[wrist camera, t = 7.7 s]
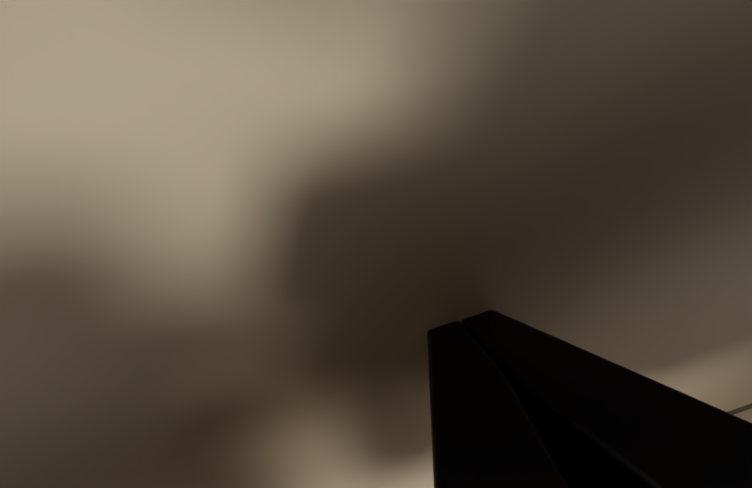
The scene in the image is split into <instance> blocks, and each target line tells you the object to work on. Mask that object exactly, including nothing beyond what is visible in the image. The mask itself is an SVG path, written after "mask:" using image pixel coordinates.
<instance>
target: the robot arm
mask: <svg viewBox="0 0 752 488" xmlns="http://www.w3.org/2000/svg"><path fill="white" fill-rule="evenodd" d="M427 347H428V369H429V391H430V413H431V435H432V457H433V480H434V488H752V423H751V422H748V421H746V420H744V419H741V418H739V417H737V416H735V415H732V414H730V413H728V412H726V411H723V410H721V409H719V408H716V407H714V406H712V405H710V404H707V403H705V402H703V401H700V400H698V399H696V398H694V397H691V396H689V395H687V394H684V393H682V392H680V391H678V390H675V389H673V388H671V387H668V386H666V385H664V384H662V383H659V382H657V381H655V380H652V379H650V378H648V377H646V376H643V375H641V374H639V373H637V372H634V371H632V370H630V369H627V368H625V367H623V366H621V365H618V364H616V363H614V362H611V361H609V360H607V359H605V358H602V357H600V356H598V355H595V354H593V353H591V352H589V351H586V350H584V349H582V348H579V347H577V346H575V345H573V344H570V343H568V342H566V341H563V340H561V339H559V338H557V337H554V336H552V335H550V334H548V333H545V332H543V331H541V330H538V329H536V328H534V327H532V326H529V325H527V324H525V323H522V322H520V321H518V320H516V319H513V318H511V317H509V316H506V315H504V314H502V313H500V312H497V311H495V310H489V311H485V312H482V313H479V314H476V315H473V316H470V317H467V318H465V319H464V320H463V321H462V323H460V322H459V321H455V322H452V323H448V324H445V325H442V326H439V327H436V328H433V329H430V330H429V331H428V332H427Z"/></svg>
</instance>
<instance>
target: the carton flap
mask: <svg viewBox="0 0 752 488" xmlns="http://www.w3.org/2000/svg"><path fill="white" fill-rule="evenodd" d="M489 310H495V311H497V312H500V313H502V314H504V315H506V316H509V317H511V318H513V319H516V320H518V321H520V322H522V323H525V324H527V325H529V326H532V327H534V328H536V329H538V330H541V331H543V332H545V333H548V334H550V335H552V336H554V337H557V338H559V339H561V340H563V341H566V342H568V343H570V344H573V345H575V346H577V347H579V348H582V349H584V350H586V351H589V352H591V353H593V354H595V355H598V356H600V357H602V358H605V359H607V360H609V361H611V362H614V363H616V364H618V365H621V366H623V367H625V368H627V369H630V370H632V371H634V372H637V373H639V374H641V375H643V376H646V377H648V378H650V379H652V380H655V381H657V382H659V383H662V384H664V385H666V386H668V387H671V388H673V389H675V390H678V391H680V392H682V393H684V394H687V395H689V396H691V397H694V398H696V399H698V400H700V401H703V402H705V403H707V404H710V405H712V406H714V407H716V408H719V409H721V410H723V411H726V412H728V411H731V410H734V409H736V408H739V407H742V406H745V405H747V404H750V403H752V0H0V488H434V480H433V457H432V435H431V413H430V391H429V369H428V347H427V332H428V331H429V330H430V329H433V328H436V327H439V326H442V325H445V324H448V323H452V322H455V321H459V322H460V323H462V321H463V320H464V319H465V318H467V317H470V316H473V315H476V314H479V313H482V312H485V311H489Z"/></svg>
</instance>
